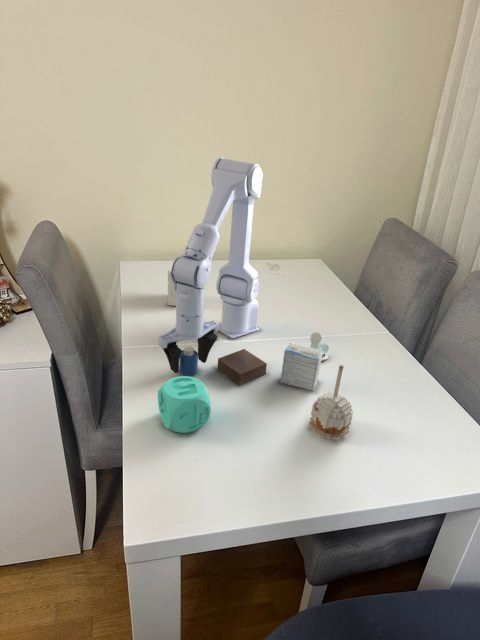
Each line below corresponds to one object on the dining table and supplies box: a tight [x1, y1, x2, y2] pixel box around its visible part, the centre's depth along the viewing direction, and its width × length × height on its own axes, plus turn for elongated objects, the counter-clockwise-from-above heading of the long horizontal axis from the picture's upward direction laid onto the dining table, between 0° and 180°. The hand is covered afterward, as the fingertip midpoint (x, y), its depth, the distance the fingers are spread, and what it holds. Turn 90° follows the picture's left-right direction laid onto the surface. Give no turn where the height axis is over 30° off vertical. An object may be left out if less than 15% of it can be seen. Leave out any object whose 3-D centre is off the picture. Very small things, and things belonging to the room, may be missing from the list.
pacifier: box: [309, 331, 329, 362], centre depth 121 cm, size 7×6×6 cm
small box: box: [167, 267, 176, 307], centre depth 141 cm, size 8×6×10 cm
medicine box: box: [280, 342, 323, 392], centre depth 110 cm, size 8×4×9 cm, turn 71°
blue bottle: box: [179, 345, 199, 377], centre depth 110 cm, size 4×4×6 cm
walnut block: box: [216, 348, 268, 386], centre depth 113 cm, size 8×8×3 cm
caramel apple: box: [308, 364, 354, 440], centre depth 95 cm, size 8×8×15 cm
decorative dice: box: [157, 375, 212, 434], centre depth 94 cm, size 8×8×8 cm
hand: (188, 365), depth 111 cm, fingers open, 7 cm apart
